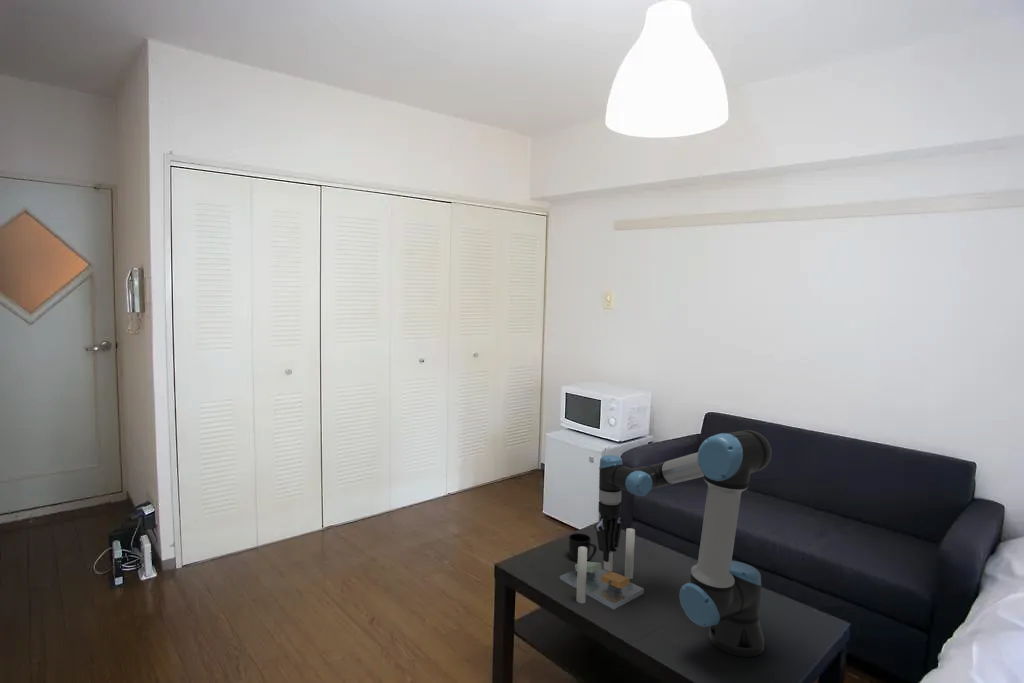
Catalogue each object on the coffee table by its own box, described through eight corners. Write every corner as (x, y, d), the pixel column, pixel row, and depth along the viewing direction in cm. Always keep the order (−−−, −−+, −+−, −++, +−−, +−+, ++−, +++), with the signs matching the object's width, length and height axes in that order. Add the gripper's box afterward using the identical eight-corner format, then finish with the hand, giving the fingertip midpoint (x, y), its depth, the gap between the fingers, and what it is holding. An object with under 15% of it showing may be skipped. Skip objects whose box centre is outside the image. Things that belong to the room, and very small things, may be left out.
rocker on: (602, 568, 199) (601, 562, 199) (591, 573, 195) (590, 567, 195) (586, 566, 205) (585, 560, 205) (574, 571, 201) (573, 565, 201)
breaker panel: (643, 594, 192) (643, 584, 192) (613, 609, 181) (614, 598, 181) (589, 568, 210) (590, 559, 210) (559, 581, 199) (560, 571, 199)
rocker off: (630, 583, 190) (630, 577, 190) (619, 589, 186) (618, 582, 186) (611, 576, 196) (611, 570, 196) (600, 581, 192) (600, 575, 192)
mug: (587, 572, 207) (587, 547, 206) (563, 560, 216) (564, 536, 215) (601, 566, 212) (602, 541, 211) (578, 555, 221) (579, 531, 221)
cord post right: (634, 579, 202) (636, 530, 201) (629, 581, 200) (631, 532, 199) (627, 576, 205) (629, 527, 204) (622, 578, 203) (624, 529, 202)
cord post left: (587, 602, 186) (589, 548, 185) (581, 605, 184) (583, 550, 183) (580, 598, 188) (582, 545, 187) (574, 601, 186) (576, 547, 185)
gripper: (613, 495, 199) (611, 560, 200) (588, 502, 190) (587, 571, 191) (630, 500, 193) (628, 568, 194) (606, 508, 185) (604, 579, 186)
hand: (608, 569), depth 193 cm, fingers closed
